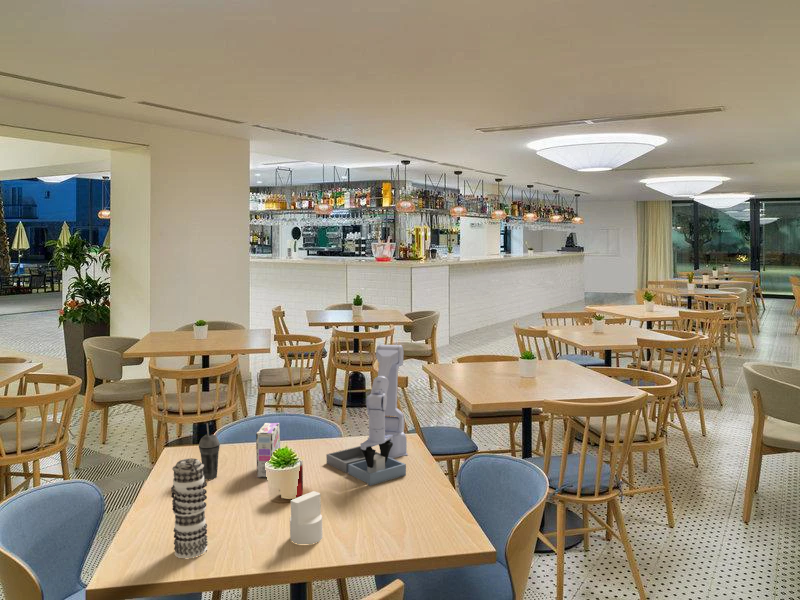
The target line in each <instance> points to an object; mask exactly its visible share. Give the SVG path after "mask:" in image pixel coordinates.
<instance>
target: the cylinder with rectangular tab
mask: <svg viewBox="0 0 800 600" xmlns="http://www.w3.org/2000/svg"><path fill="white" fill-rule="evenodd" d="M321 502H322V501H321V493H320V492H318V491H314V490H312V491H310V492H307V493H305V494H302V496H300V497H298V498H295V499H292V500H290V518H289V540H290V539H291V541H293V542H294V543H297V544H313V543H316V542H318V543H320V542H321V541H322V540H323V515H322V514H321V513H322V511H321V509H322V508H321V505H322V504H321ZM321 539H322V540H321ZM320 540H321V541H320ZM291 541H290V542H291ZM319 541H320V542H319ZM316 544H317V543H316ZM313 545H314V544H313Z"/></svg>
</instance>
